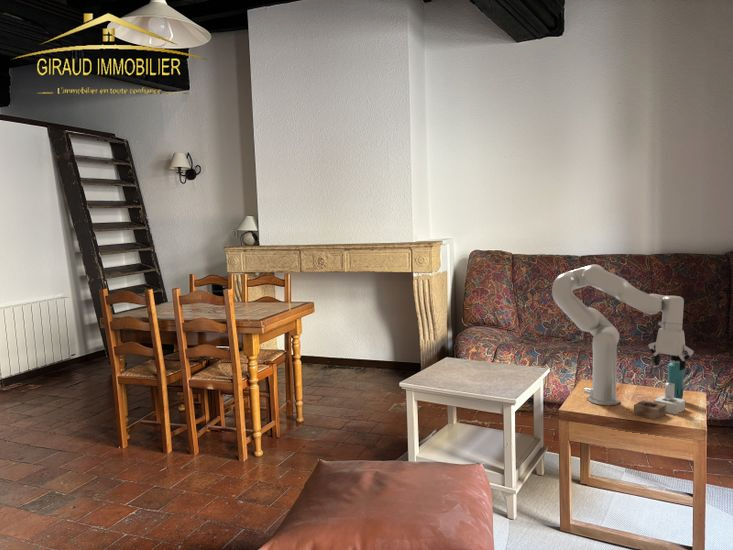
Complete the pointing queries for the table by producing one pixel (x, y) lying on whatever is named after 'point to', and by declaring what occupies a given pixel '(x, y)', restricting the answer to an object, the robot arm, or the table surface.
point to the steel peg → (669, 391)
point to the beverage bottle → (676, 376)
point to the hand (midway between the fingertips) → (669, 367)
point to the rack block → (672, 404)
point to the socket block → (650, 409)
